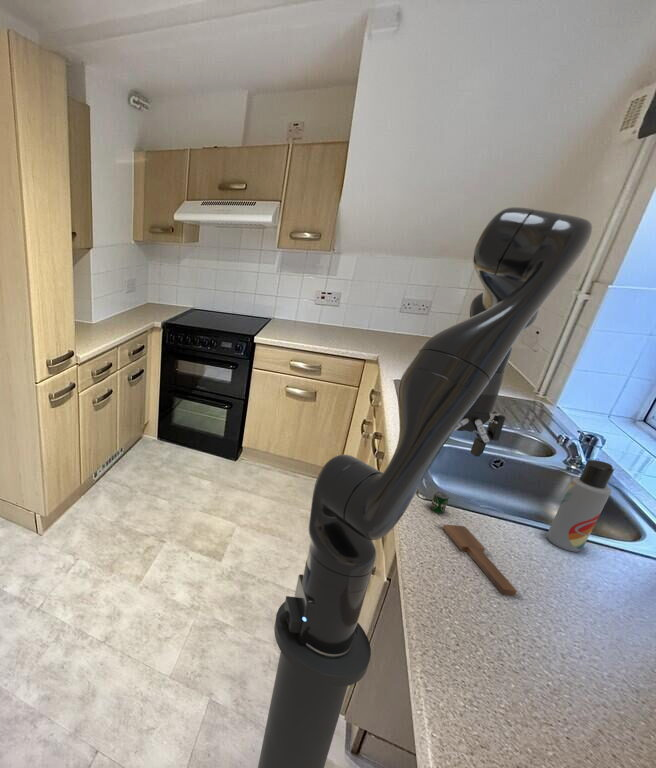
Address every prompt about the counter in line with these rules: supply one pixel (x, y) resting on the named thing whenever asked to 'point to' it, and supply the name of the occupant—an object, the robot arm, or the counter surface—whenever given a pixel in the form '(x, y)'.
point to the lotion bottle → (581, 506)
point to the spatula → (479, 556)
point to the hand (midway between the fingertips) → (454, 453)
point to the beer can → (439, 502)
